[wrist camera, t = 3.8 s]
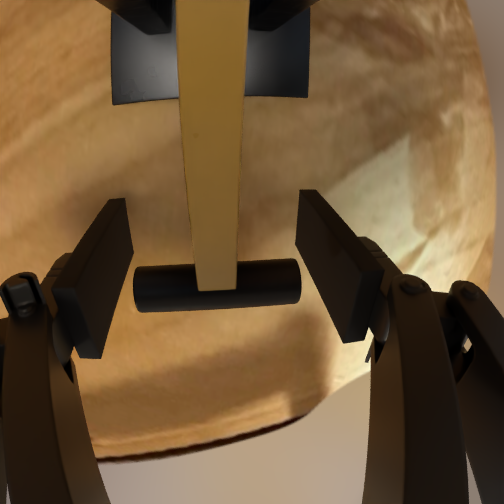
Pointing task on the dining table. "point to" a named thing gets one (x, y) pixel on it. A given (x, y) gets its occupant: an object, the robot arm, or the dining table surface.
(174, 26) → the switch bracket
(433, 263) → the dining table surface
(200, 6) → the switch lever
